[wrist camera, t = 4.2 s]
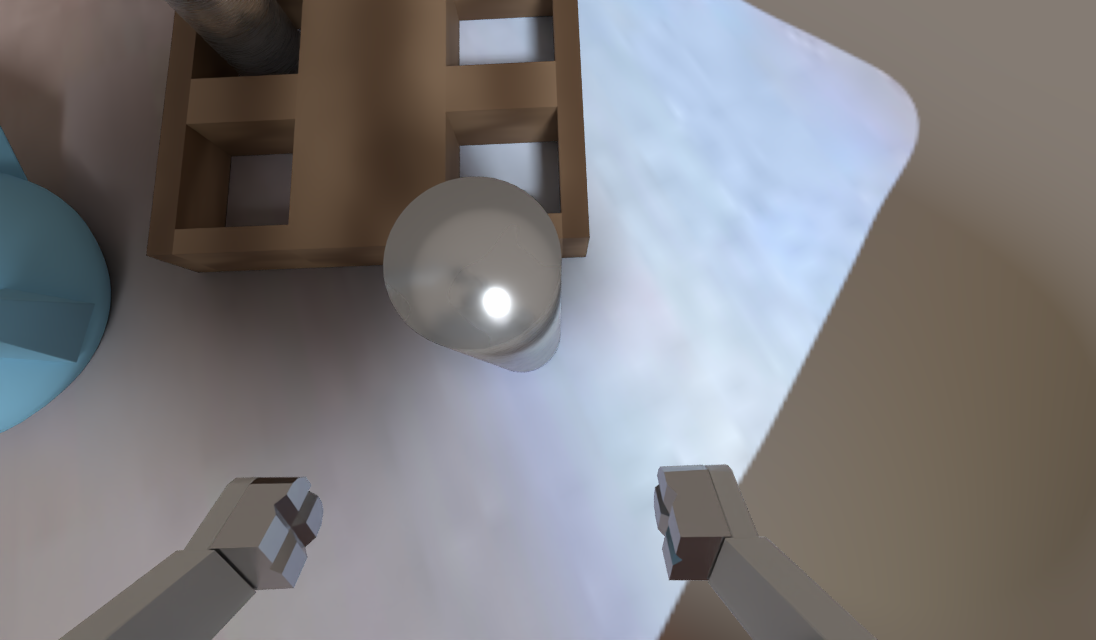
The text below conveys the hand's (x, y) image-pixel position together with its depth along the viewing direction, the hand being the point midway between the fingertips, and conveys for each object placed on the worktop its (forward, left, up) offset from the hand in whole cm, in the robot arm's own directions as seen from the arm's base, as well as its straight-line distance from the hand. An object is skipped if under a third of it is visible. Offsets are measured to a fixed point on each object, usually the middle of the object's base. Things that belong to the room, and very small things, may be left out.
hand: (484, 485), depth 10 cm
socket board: (-7, +17, -12) cm, 22 cm away
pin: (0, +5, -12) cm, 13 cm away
